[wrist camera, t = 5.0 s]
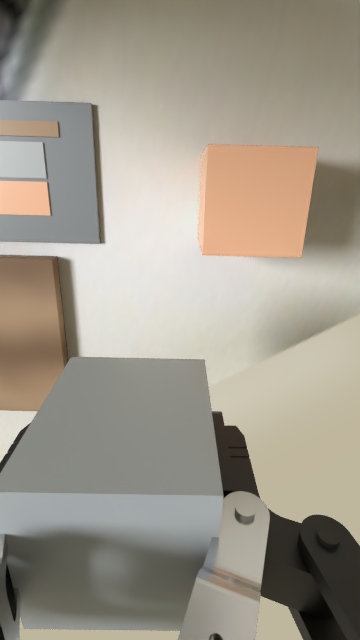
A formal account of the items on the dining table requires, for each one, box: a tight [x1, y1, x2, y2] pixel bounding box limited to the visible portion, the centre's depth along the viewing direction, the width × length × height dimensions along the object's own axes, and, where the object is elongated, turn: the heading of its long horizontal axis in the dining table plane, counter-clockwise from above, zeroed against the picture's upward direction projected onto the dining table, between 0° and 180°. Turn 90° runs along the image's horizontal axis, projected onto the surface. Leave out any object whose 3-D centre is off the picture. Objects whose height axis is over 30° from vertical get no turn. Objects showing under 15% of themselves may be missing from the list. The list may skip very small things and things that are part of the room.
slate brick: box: [0, 357, 223, 631], centre depth 11 cm, size 5×5×6 cm
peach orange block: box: [198, 144, 319, 258], centre depth 19 cm, size 5×5×6 cm
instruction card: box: [0, 100, 100, 244], centre depth 21 cm, size 8×10×1 cm
